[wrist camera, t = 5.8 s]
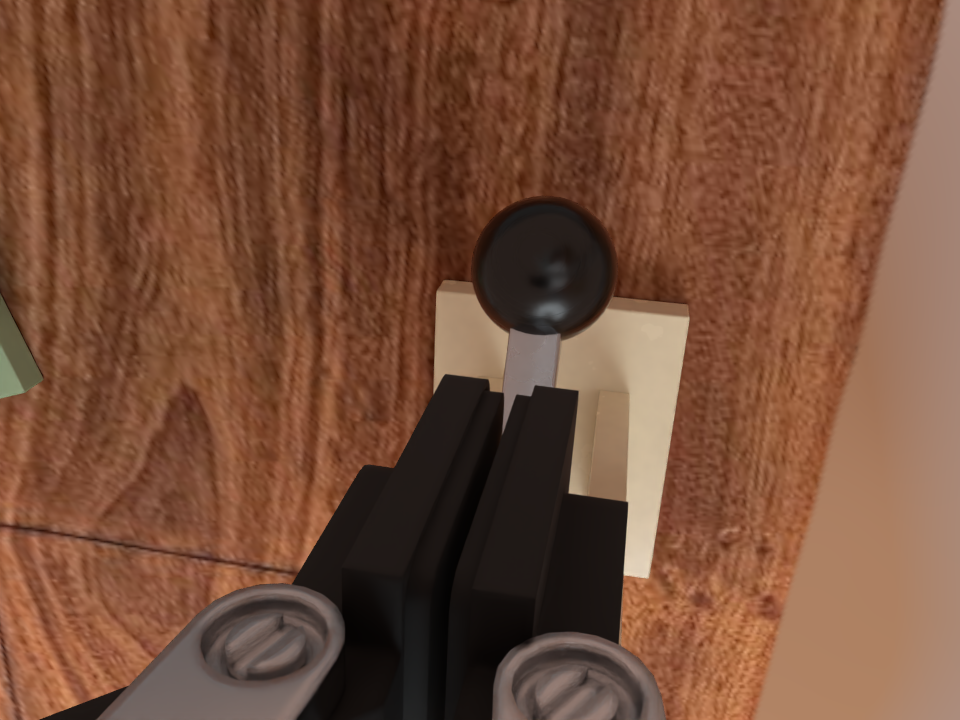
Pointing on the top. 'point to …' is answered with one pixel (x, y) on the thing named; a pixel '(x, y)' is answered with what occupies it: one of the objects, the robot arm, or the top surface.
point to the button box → (14, 358)
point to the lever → (542, 284)
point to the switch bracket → (593, 396)
